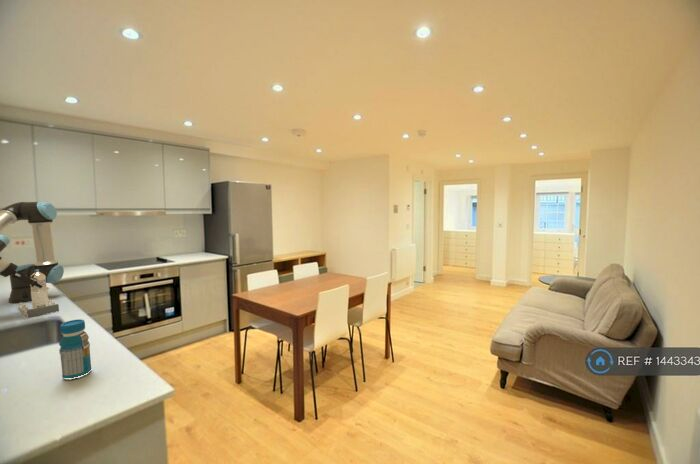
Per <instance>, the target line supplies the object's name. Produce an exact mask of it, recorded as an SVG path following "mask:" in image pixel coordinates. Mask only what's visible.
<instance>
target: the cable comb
mask: <svg viewBox="0 0 700 464" xmlns="http://www.w3.org/2000/svg"><path fill="white" fill-rule="evenodd" d="M48 303H49V305H54V304H56V302H55V301H53V300H52V299H50V298H49V297H48ZM17 307H18V308H17V309H18V310H19V311H20V312H21V313H22V314H23V315H25V316H26V317H27V318H28V314H27V310H29V307H28V306H26V304H24V302H21V303H18V306H17Z"/></svg>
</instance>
